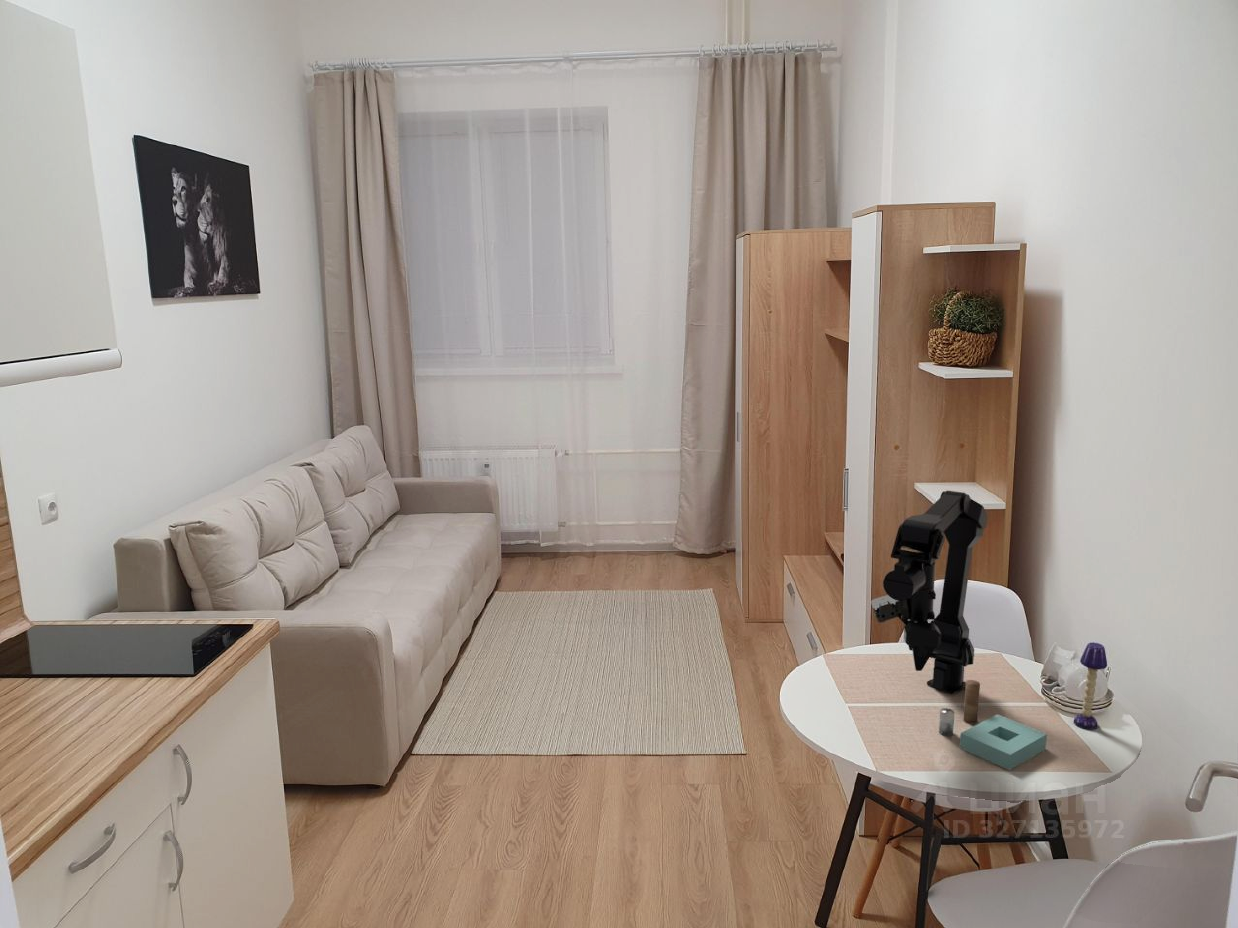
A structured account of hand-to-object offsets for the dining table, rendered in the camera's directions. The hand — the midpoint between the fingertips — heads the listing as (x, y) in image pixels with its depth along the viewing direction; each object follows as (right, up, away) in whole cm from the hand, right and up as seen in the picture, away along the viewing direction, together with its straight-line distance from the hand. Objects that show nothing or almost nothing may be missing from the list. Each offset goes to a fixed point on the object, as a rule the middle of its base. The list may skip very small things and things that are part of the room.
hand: (915, 659), depth 182 cm
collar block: (+14, -15, -8) cm, 22 cm away
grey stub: (+5, -14, -2) cm, 15 cm away
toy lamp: (+34, -13, +1) cm, 36 cm away
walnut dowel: (+12, -13, +3) cm, 18 cm away
